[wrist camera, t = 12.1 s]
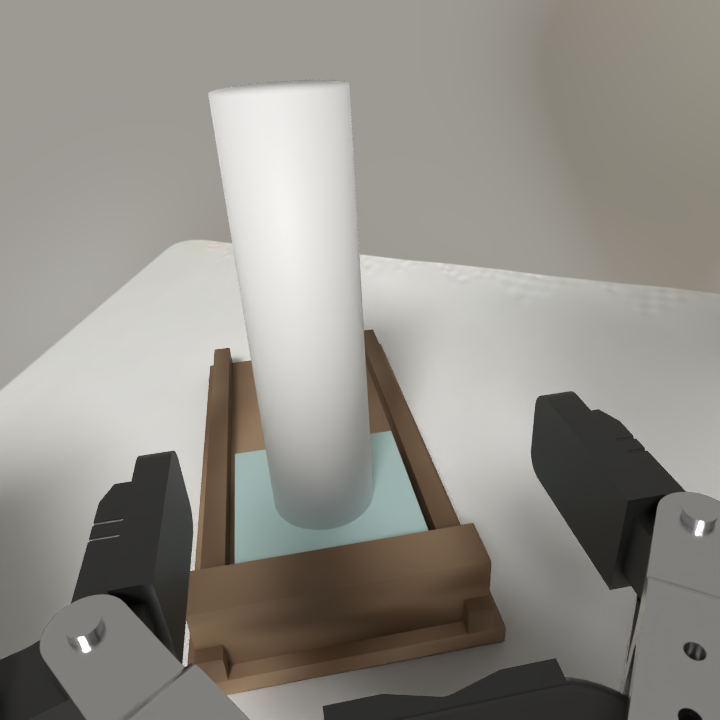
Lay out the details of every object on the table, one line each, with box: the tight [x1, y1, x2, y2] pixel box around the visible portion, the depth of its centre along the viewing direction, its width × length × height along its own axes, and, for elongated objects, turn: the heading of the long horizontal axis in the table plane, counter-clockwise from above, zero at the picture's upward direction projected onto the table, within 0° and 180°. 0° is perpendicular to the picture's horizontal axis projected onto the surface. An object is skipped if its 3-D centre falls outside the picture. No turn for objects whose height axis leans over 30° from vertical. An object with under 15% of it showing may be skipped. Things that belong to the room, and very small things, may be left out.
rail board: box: [186, 330, 506, 695], centre depth 33 cm, size 12×24×4 cm, turn 10°
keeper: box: [208, 80, 428, 564], centre depth 24 cm, size 8×8×18 cm
